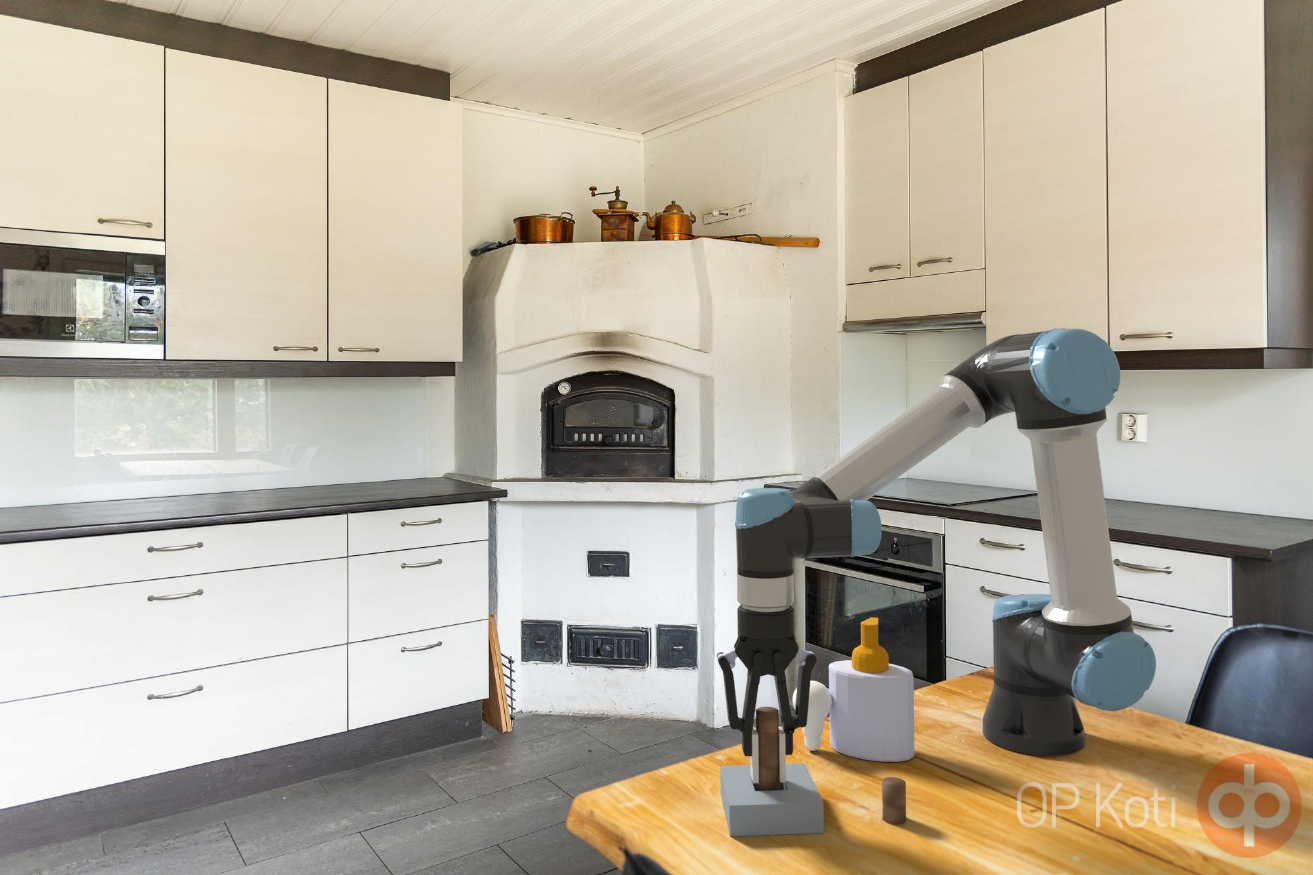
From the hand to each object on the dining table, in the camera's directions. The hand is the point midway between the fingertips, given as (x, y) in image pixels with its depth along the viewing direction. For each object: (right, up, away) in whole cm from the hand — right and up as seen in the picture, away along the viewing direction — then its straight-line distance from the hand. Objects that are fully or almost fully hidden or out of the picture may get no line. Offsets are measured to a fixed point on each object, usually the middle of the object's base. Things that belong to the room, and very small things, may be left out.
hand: (767, 777), depth 117 cm
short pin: (+16, -5, -2) cm, 17 cm away
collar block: (0, -5, 0) cm, 5 cm away
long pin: (0, -5, 0) cm, 5 cm away
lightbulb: (+10, -4, +20) cm, 23 cm away
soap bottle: (+19, -4, +20) cm, 27 cm away
